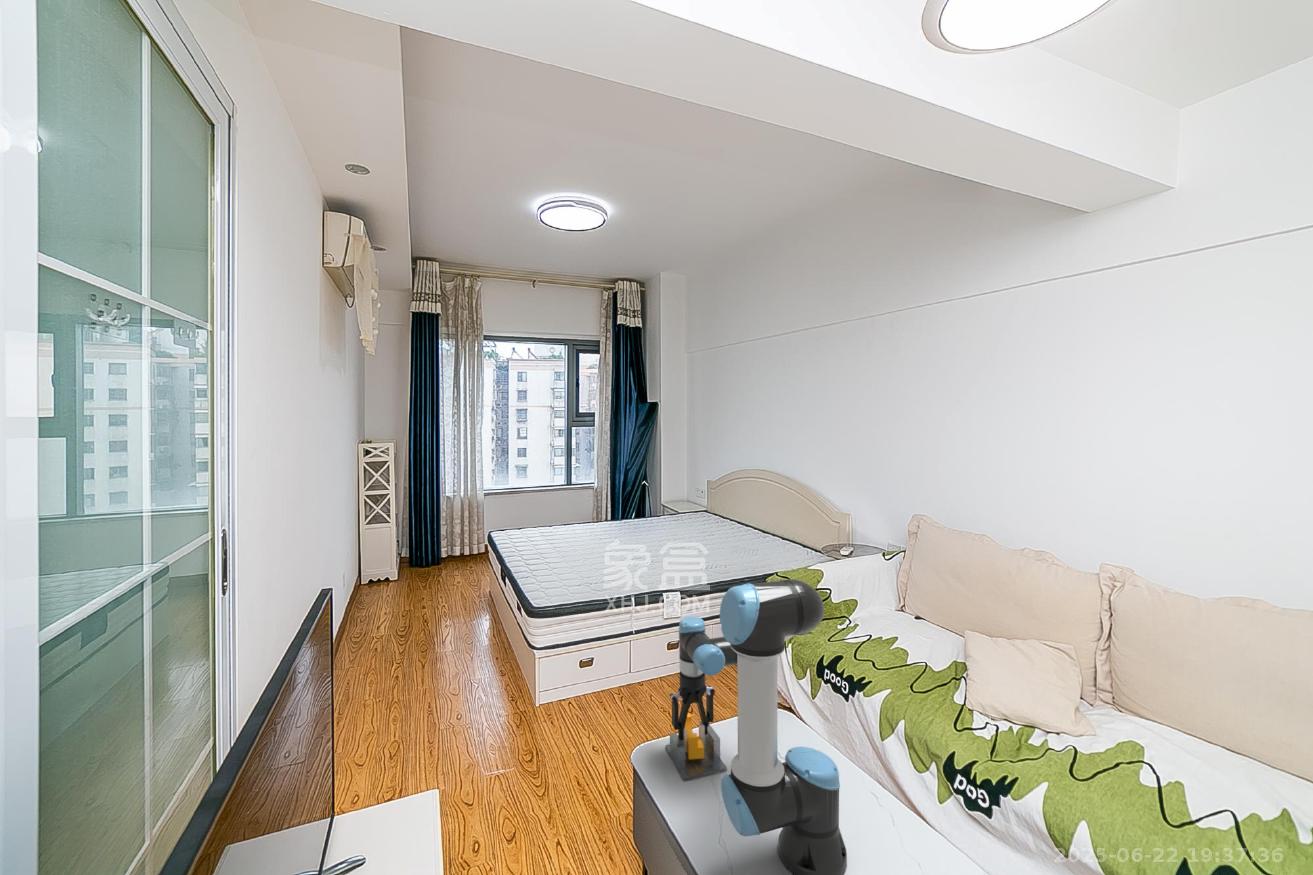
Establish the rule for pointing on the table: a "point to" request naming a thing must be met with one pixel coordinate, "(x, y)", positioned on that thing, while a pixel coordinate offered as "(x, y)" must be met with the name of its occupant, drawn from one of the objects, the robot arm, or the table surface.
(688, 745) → the orange angled block
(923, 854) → the table surface
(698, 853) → the table surface
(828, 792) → the robot arm
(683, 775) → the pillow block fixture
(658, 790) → the table surface
